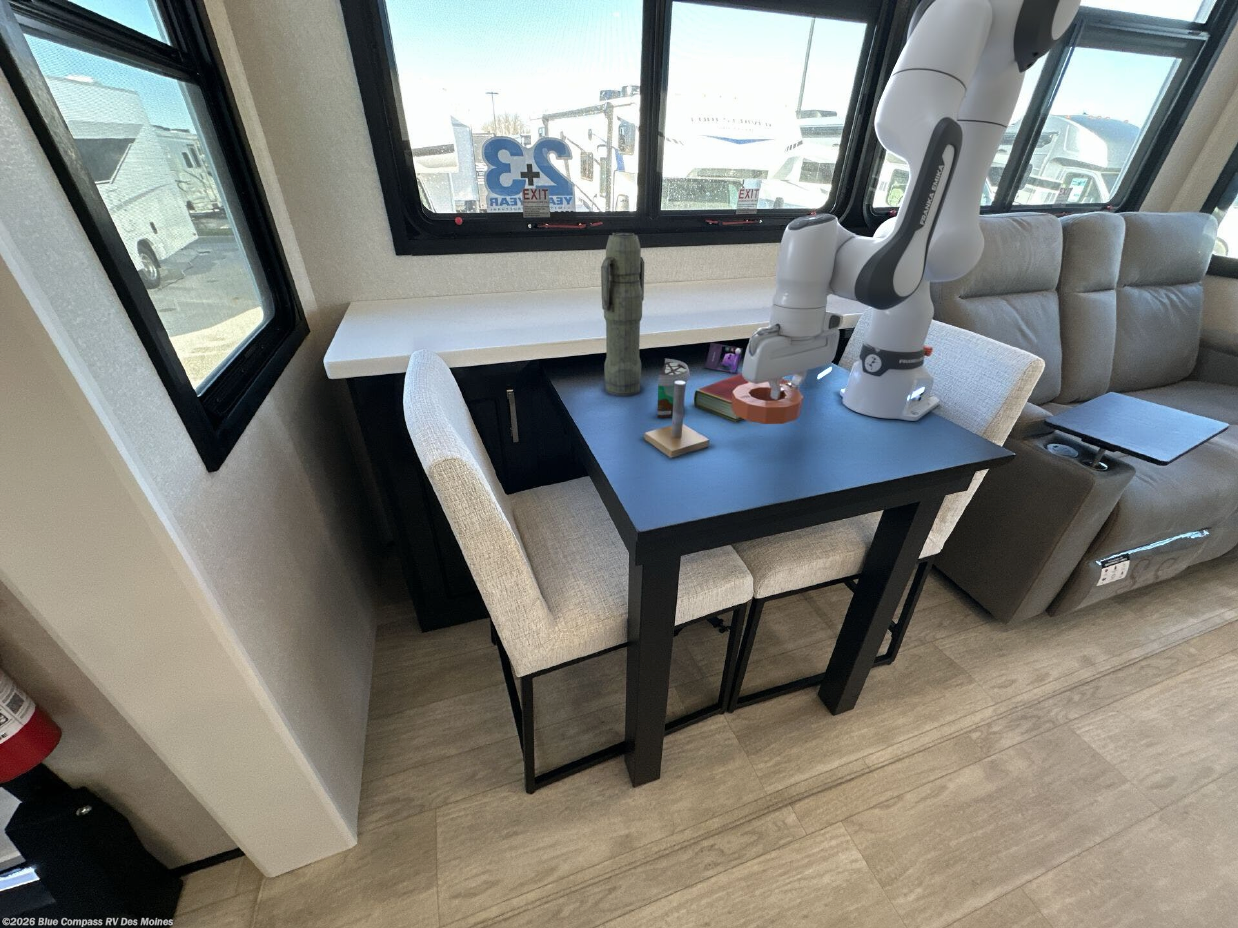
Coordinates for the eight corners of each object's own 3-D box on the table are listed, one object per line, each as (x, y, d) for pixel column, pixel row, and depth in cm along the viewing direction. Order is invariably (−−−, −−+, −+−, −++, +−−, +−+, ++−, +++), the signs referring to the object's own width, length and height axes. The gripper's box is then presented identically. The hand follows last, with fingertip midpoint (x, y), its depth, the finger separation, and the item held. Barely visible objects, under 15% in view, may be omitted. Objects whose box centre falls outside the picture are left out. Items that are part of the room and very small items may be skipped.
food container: (685, 423, 103) (688, 378, 98) (656, 420, 104) (658, 376, 99) (689, 401, 114) (692, 359, 109) (663, 399, 115) (665, 357, 110)
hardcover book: (693, 405, 111) (694, 388, 109) (747, 383, 123) (749, 367, 121) (736, 422, 104) (738, 403, 101) (789, 397, 116) (792, 380, 113)
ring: (765, 393, 97) (767, 377, 95) (813, 414, 87) (817, 397, 86) (718, 406, 92) (720, 390, 90) (764, 429, 82) (766, 412, 81)
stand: (680, 429, 101) (684, 371, 94) (708, 446, 94) (715, 385, 88) (644, 439, 97) (646, 379, 90) (671, 458, 90) (674, 395, 84)
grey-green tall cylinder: (651, 386, 122) (656, 233, 104) (622, 400, 114) (622, 237, 96) (623, 378, 127) (624, 230, 109) (593, 392, 119) (589, 234, 101)
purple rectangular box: (709, 342, 132) (741, 348, 128) (716, 344, 136) (747, 349, 132) (704, 367, 133) (735, 373, 129) (711, 368, 138) (741, 374, 134)
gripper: (765, 334, 77) (755, 414, 84) (850, 315, 86) (834, 389, 92) (738, 326, 82) (730, 402, 88) (821, 309, 90) (808, 379, 97)
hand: (784, 395), depth 91 cm, fingers closed on ring, 3 cm apart
